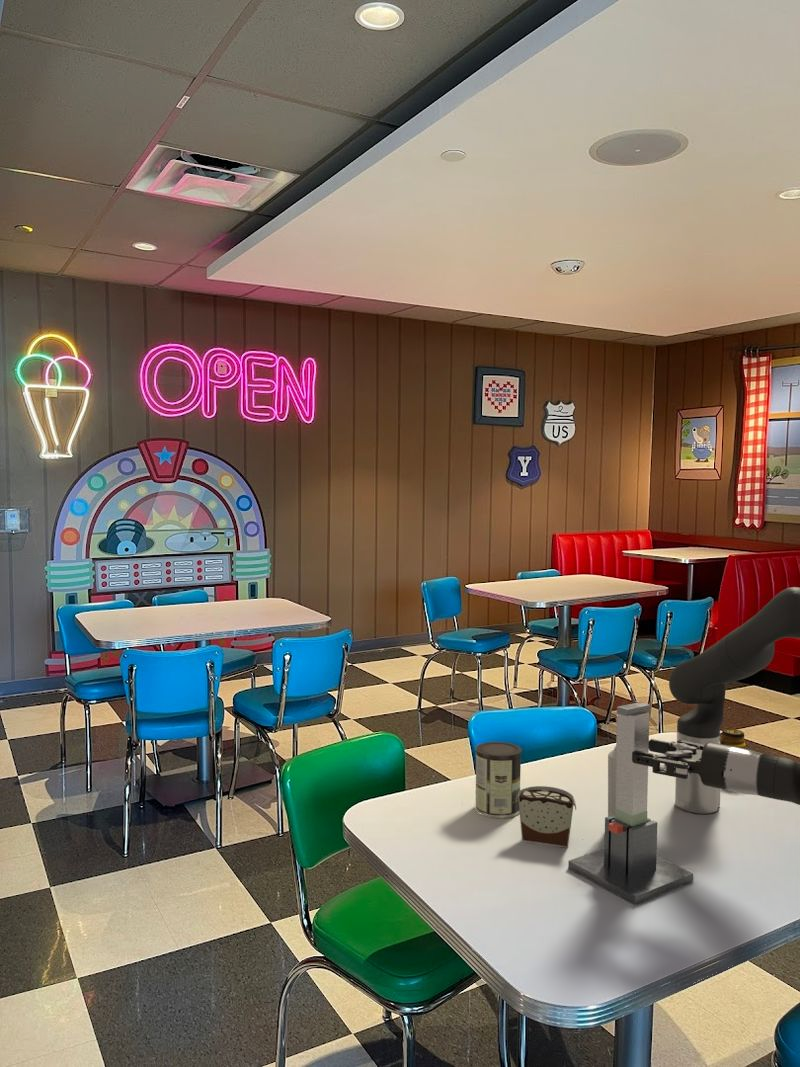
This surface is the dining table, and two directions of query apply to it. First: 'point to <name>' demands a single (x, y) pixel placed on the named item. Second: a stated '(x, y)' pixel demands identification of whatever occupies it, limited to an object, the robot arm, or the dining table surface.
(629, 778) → the post
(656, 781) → the dining table surface
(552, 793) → the food container
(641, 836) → the stand
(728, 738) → the condiment
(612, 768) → the bottle
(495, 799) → the coffee can
